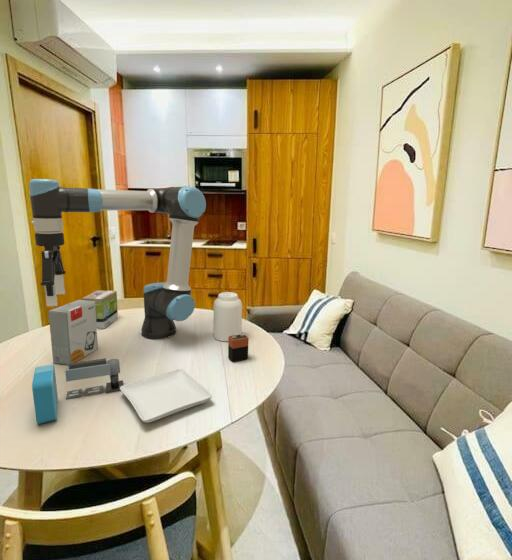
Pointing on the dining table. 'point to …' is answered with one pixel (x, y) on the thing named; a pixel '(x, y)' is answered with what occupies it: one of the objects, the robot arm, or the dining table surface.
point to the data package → (45, 394)
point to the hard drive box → (73, 331)
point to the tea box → (104, 307)
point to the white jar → (227, 316)
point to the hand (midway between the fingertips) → (56, 299)
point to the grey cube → (114, 384)
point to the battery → (238, 347)
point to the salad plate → (165, 394)
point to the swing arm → (92, 369)
